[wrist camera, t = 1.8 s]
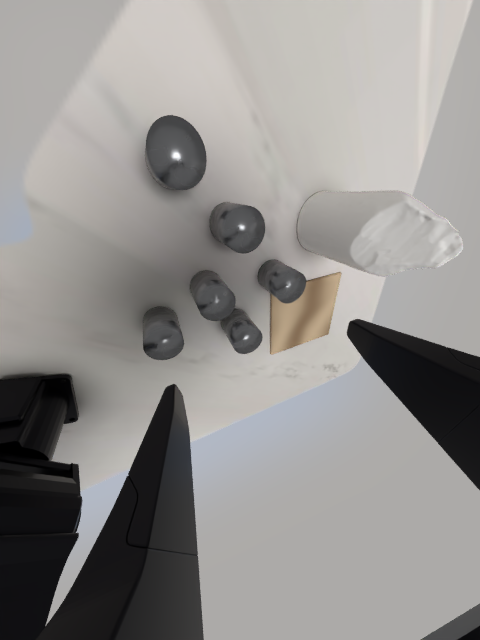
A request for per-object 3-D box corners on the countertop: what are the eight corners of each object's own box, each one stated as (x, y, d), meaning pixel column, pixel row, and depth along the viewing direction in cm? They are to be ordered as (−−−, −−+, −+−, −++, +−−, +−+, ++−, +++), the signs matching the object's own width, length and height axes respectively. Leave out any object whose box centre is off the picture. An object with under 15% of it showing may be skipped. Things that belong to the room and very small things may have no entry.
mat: (270, 353, 29) (271, 354, 29) (270, 290, 24) (272, 291, 23) (326, 333, 32) (328, 334, 32) (339, 272, 26) (341, 272, 26)
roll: (430, 223, 10) (516, 170, 10) (291, 205, 19) (339, 178, 20) (410, 311, 14) (474, 269, 14) (302, 261, 23) (342, 237, 24)
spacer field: (263, 331, 27) (280, 351, 23) (142, 334, 20) (143, 361, 17) (312, 187, 19) (345, 187, 16) (145, 123, 13) (146, 103, 10)
